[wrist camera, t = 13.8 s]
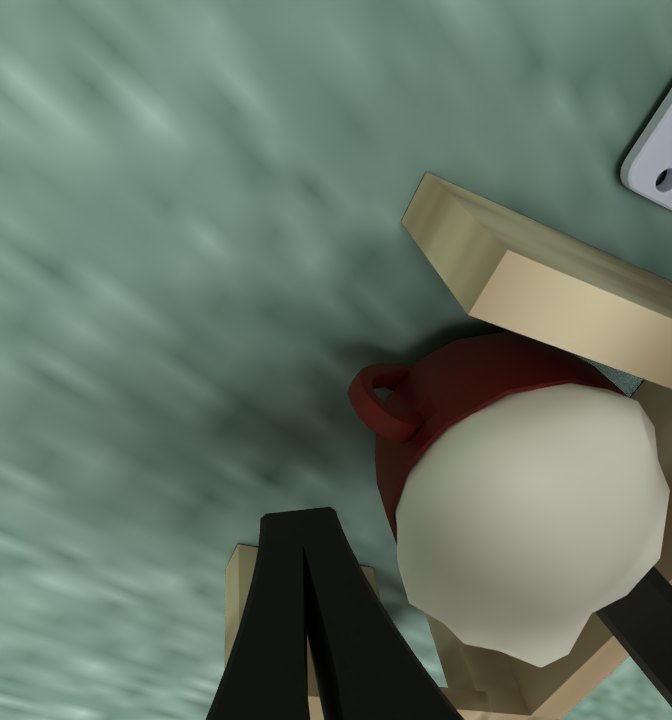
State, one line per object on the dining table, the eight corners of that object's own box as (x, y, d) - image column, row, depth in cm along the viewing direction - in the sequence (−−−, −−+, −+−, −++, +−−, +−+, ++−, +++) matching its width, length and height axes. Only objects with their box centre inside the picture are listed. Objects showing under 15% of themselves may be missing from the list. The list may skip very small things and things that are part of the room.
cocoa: (288, 348, 15) (409, 1122, 5) (514, 211, 14) (1290, 841, 4) (445, 543, 20) (664, 1119, 10) (619, 455, 19) (1067, 1001, 9)
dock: (740, 313, 16) (892, 411, 12) (487, 610, 22) (539, 739, 18) (426, 171, 13) (507, 250, 9) (225, 568, 19) (224, 716, 15)
